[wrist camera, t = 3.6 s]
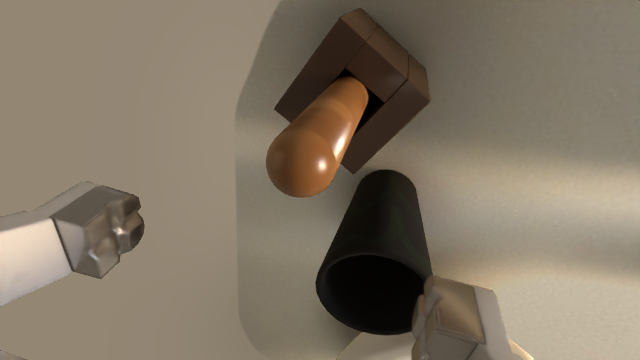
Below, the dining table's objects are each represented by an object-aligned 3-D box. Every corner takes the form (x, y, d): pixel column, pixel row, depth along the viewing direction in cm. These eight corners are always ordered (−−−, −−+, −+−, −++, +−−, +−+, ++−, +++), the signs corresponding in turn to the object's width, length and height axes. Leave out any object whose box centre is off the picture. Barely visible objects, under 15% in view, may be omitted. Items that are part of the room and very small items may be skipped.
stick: (342, 75, 27) (241, 177, 11) (363, 50, 25) (281, 125, 10) (365, 95, 27) (298, 224, 11) (386, 71, 26) (344, 178, 10)
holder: (307, 77, 27) (273, 108, 21) (360, 7, 24) (340, 17, 17) (367, 129, 28) (353, 175, 22) (426, 69, 25) (431, 101, 18)
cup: (331, 177, 32) (293, 268, 22) (407, 145, 28) (404, 235, 18) (368, 237, 34) (350, 343, 24) (442, 214, 31) (456, 327, 21)
